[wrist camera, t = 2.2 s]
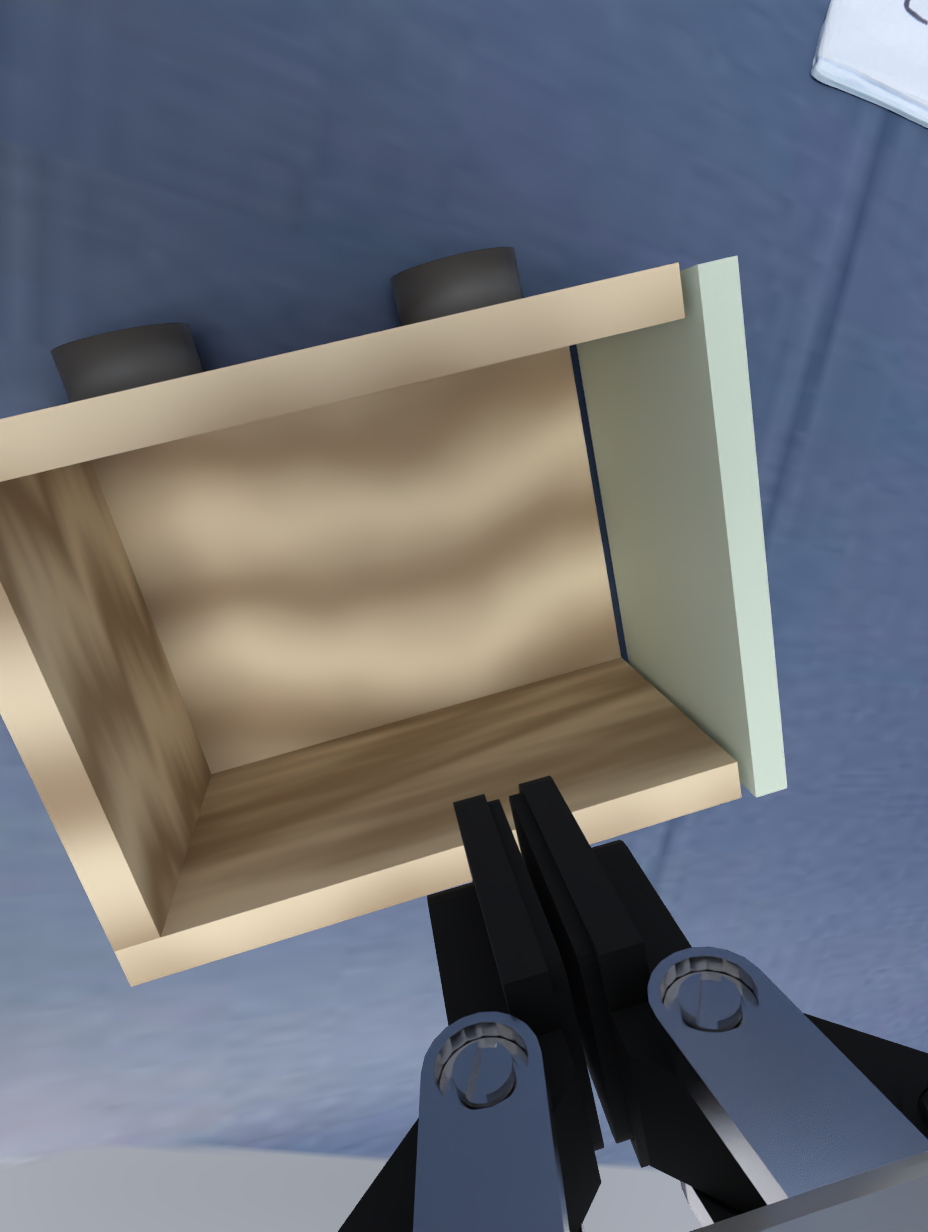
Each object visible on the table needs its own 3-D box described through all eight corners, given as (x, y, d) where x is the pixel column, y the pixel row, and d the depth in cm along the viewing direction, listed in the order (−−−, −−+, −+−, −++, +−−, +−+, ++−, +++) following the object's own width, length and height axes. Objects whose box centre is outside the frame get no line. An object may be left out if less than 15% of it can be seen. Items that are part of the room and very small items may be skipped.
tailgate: (570, 309, 31) (697, 264, 20) (610, 300, 31) (757, 250, 21) (631, 679, 37) (756, 797, 26) (664, 670, 37) (802, 783, 26)
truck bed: (26, 368, 30) (-173, 350, 18) (542, 252, 32) (667, 168, 20) (211, 833, 37) (156, 1039, 25) (621, 714, 39) (748, 851, 27)
